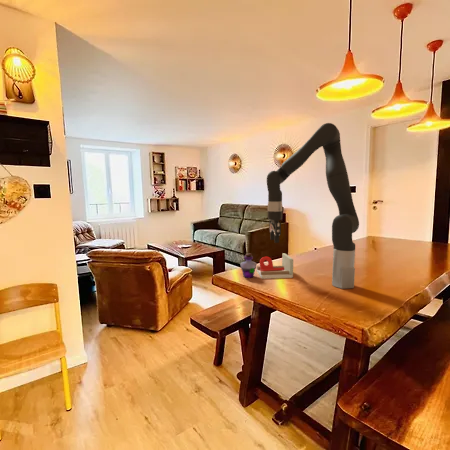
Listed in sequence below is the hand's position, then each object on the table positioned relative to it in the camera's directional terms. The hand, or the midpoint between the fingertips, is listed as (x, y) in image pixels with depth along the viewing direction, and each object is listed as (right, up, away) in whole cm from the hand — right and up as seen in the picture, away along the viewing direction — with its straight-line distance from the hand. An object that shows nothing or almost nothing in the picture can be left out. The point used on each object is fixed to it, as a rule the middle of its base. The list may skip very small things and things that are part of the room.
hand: (274, 241), depth 150 cm
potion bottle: (-14, -18, -2) cm, 23 cm away
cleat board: (0, -18, +2) cm, 18 cm away
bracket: (-1, -16, 0) cm, 16 cm away
